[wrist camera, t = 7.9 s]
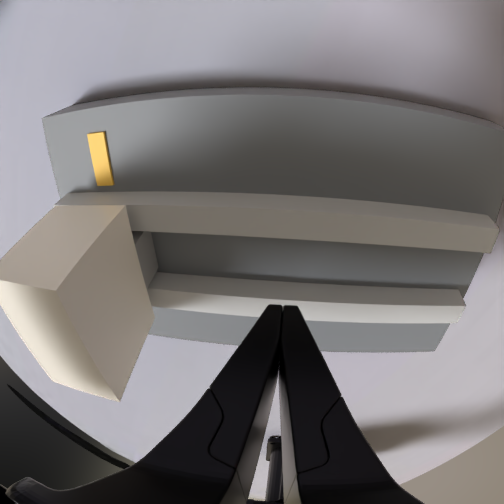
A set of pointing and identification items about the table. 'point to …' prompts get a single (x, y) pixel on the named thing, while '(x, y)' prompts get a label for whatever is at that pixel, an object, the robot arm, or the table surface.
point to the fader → (82, 295)
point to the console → (292, 207)
